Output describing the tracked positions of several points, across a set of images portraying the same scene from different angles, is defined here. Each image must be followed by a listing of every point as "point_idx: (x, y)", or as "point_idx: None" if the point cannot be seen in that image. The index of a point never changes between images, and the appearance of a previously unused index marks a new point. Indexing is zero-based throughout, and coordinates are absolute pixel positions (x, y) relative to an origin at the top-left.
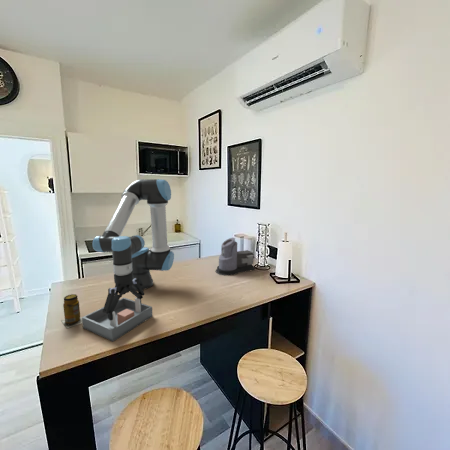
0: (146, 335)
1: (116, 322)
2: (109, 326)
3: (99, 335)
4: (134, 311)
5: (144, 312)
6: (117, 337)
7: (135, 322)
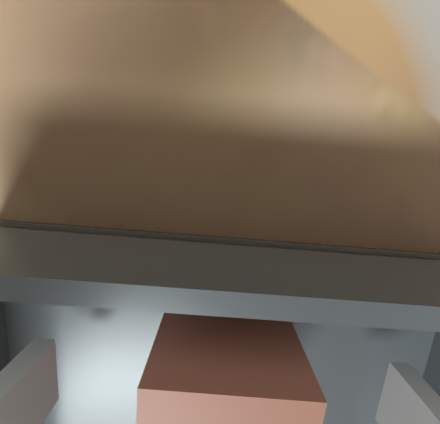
0: (278, 37)
1: None
2: None
3: None
4: None
5: (32, 267)
6: (413, 255)
7: (211, 253)
